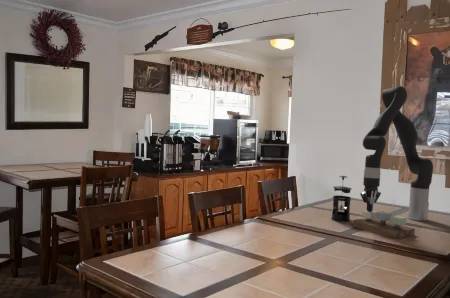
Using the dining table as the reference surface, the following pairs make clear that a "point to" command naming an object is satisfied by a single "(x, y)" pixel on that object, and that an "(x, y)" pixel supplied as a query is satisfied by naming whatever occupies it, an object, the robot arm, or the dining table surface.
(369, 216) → the cream block
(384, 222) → the grey squarish block
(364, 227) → the key panel
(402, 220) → the sage key
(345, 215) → the french press
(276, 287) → the dining table surface
